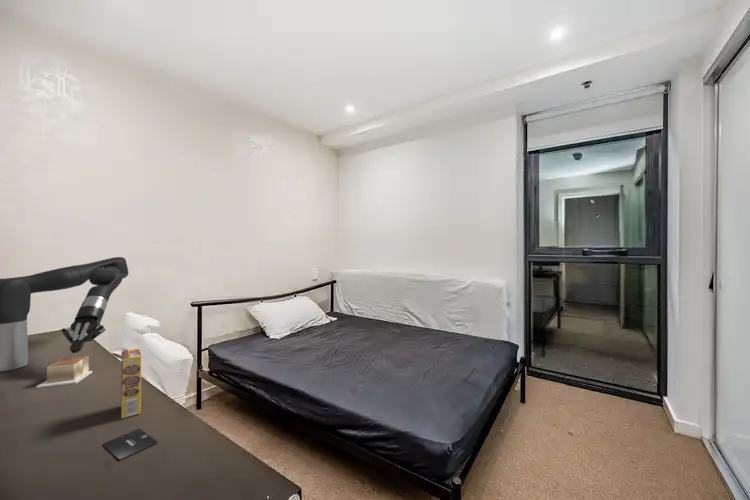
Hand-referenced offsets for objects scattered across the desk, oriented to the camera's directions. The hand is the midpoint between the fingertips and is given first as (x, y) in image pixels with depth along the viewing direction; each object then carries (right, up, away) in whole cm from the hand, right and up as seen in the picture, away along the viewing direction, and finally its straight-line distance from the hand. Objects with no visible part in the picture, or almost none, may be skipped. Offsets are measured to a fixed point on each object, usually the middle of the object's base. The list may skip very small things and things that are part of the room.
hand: (74, 351), depth 110 cm
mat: (+2, -8, -5) cm, 9 cm away
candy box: (+40, -7, -26) cm, 48 cm away
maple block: (0, -5, +1) cm, 5 cm away
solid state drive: (+51, -8, -41) cm, 66 cm away
